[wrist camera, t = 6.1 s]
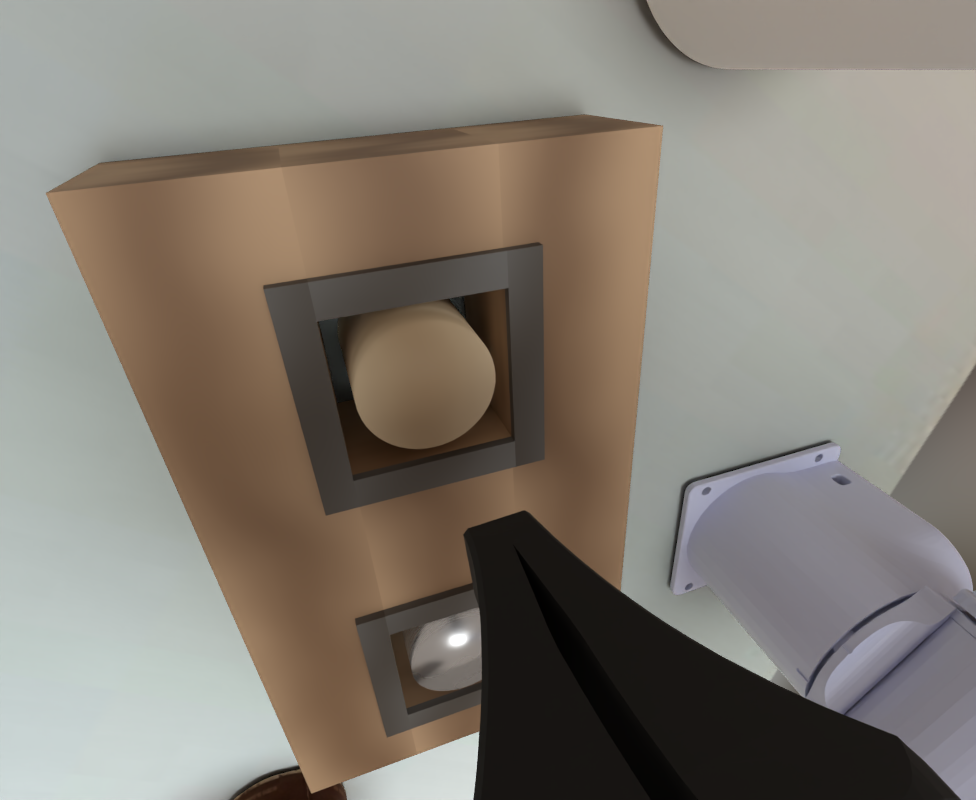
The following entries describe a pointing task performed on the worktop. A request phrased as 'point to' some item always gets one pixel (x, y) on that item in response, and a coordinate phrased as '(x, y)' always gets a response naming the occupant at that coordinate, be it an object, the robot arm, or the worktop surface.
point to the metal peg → (446, 651)
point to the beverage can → (822, 33)
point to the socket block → (337, 426)
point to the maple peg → (417, 373)
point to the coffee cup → (290, 789)
